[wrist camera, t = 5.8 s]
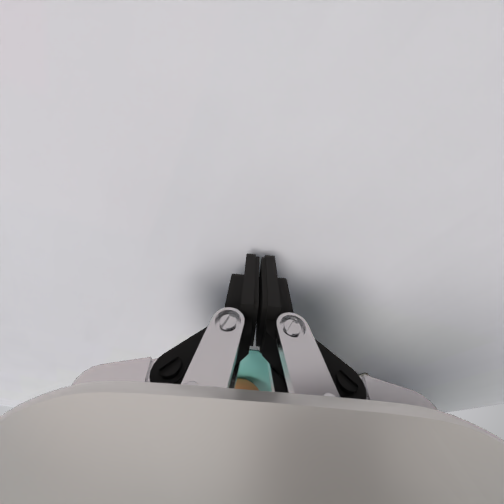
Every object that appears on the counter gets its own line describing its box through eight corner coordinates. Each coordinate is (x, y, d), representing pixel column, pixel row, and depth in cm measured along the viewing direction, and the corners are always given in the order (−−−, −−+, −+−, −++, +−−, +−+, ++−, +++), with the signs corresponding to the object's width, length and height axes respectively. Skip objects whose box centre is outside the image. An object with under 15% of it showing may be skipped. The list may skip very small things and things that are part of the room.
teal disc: (312, 355, 18) (313, 357, 18) (288, 408, 25) (288, 410, 24) (181, 344, 18) (181, 345, 18) (193, 401, 24) (192, 403, 24)
